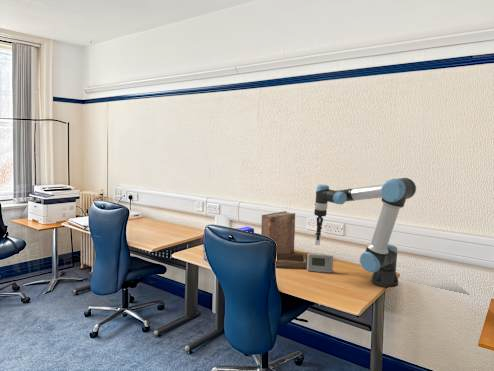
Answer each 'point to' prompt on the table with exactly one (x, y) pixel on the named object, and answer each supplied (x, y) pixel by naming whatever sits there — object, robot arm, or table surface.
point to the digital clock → (320, 263)
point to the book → (280, 230)
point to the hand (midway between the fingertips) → (317, 241)
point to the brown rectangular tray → (291, 261)
